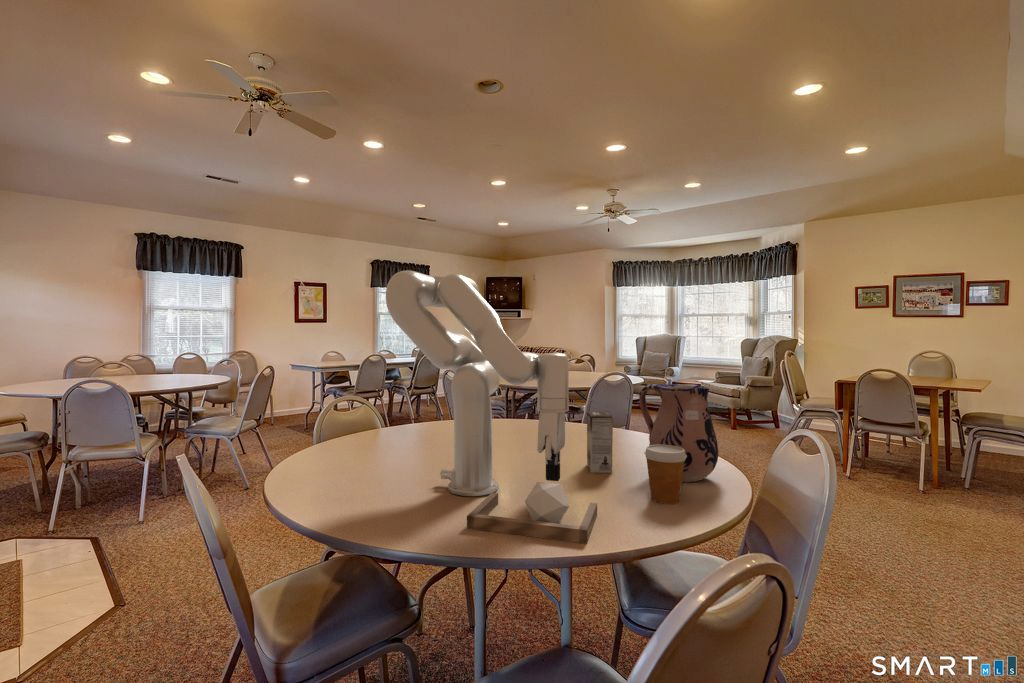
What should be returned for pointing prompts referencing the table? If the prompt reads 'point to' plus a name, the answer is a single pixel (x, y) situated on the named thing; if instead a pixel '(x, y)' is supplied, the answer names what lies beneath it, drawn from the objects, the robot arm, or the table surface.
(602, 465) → the coffee box
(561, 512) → the die
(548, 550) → the table surface
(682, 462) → the disposable coffee cup
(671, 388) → the ceramic pitcher
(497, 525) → the wooden u-shaped frame
